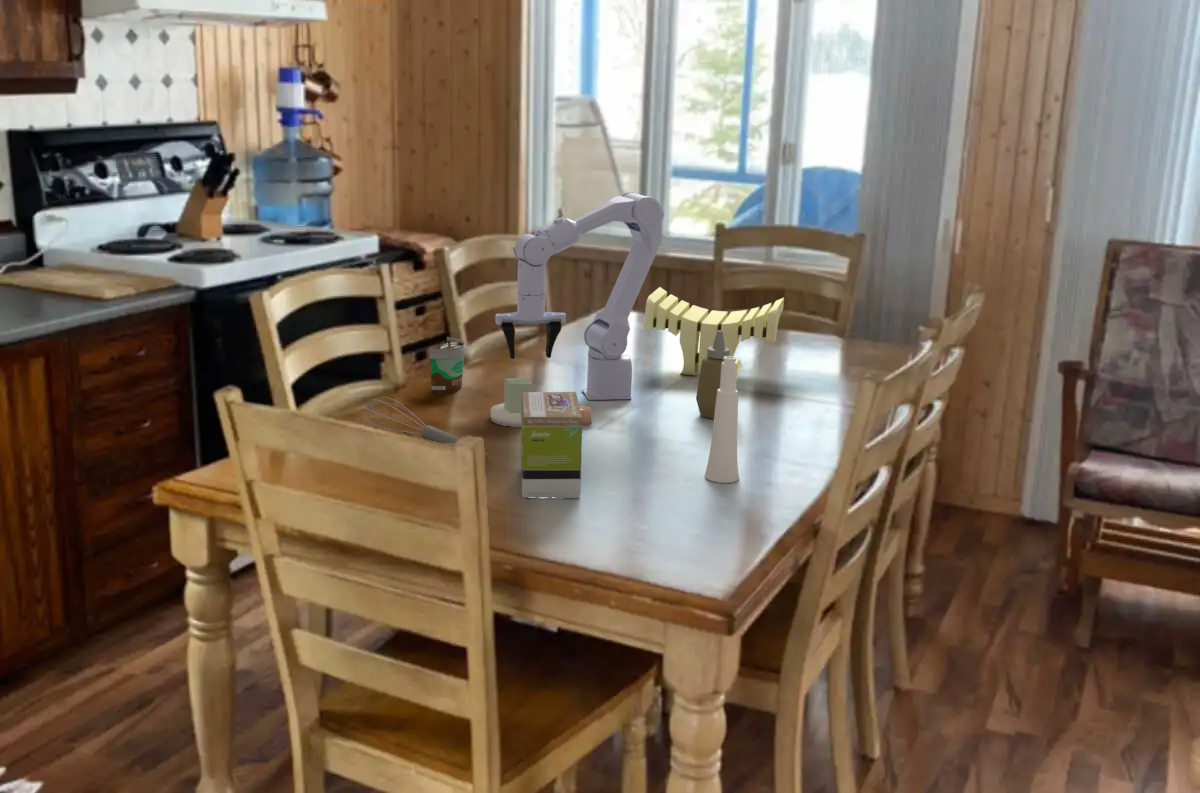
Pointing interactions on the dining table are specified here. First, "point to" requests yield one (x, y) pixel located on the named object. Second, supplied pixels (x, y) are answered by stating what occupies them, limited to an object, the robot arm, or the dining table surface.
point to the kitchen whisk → (427, 431)
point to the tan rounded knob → (586, 415)
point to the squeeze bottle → (711, 376)
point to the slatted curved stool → (708, 326)
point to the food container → (447, 366)
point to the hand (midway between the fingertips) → (530, 357)
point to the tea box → (551, 445)
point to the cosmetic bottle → (725, 428)
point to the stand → (505, 416)
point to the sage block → (515, 393)
